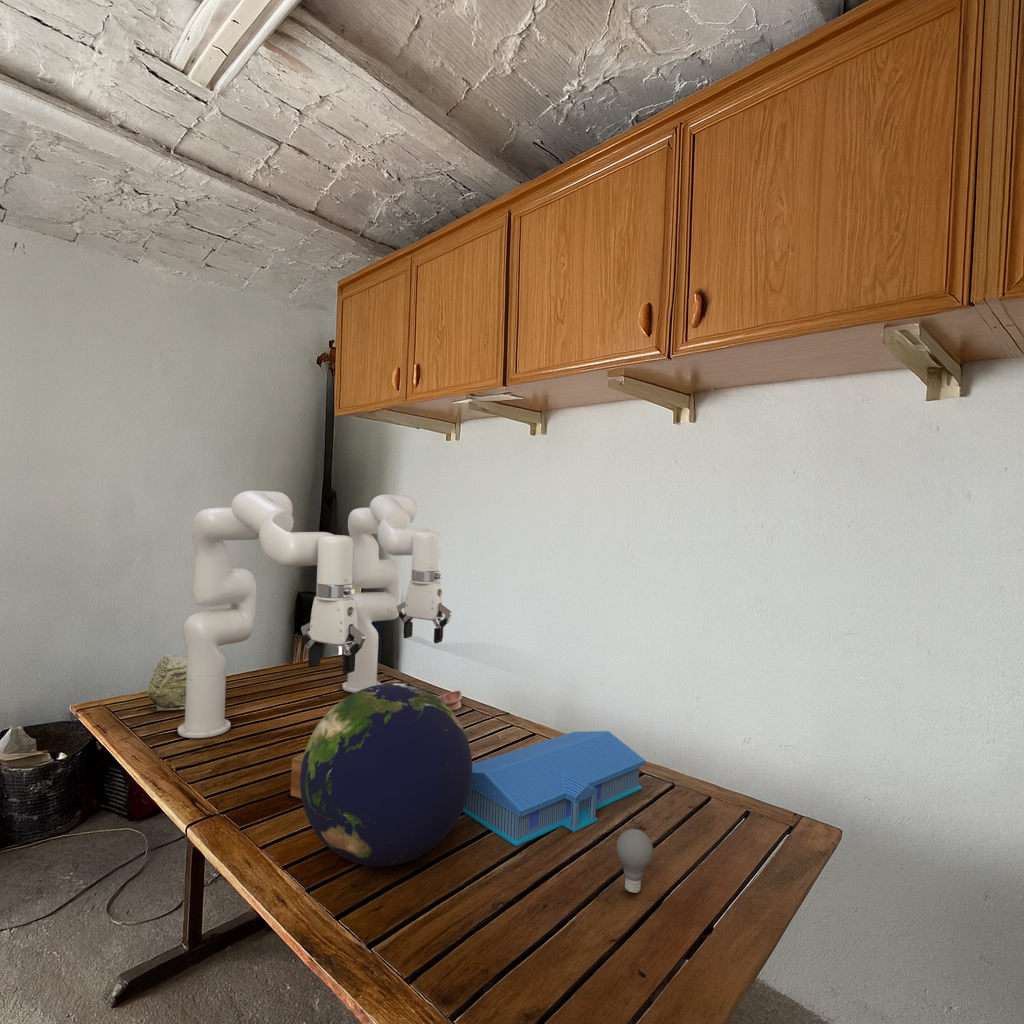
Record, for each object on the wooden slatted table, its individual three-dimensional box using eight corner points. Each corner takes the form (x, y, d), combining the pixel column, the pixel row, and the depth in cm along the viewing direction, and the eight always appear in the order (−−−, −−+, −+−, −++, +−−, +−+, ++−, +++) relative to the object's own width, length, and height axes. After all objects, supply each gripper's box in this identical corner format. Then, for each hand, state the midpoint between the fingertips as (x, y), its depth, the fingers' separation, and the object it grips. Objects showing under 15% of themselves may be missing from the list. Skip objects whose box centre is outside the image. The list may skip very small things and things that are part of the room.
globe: (257, 876, 105) (264, 696, 104) (364, 800, 133) (370, 657, 132) (413, 929, 94) (422, 728, 93) (494, 834, 121) (501, 678, 121)
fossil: (144, 707, 182) (145, 655, 182) (212, 696, 194) (213, 647, 194) (151, 716, 175) (153, 662, 175) (221, 703, 188) (223, 653, 188)
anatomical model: (412, 696, 190) (425, 685, 201) (412, 709, 190) (424, 698, 201) (455, 701, 187) (465, 690, 199) (454, 714, 188) (465, 702, 199)
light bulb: (610, 879, 108) (613, 822, 108) (644, 879, 109) (647, 822, 109) (619, 902, 102) (622, 840, 102) (655, 901, 103) (658, 840, 103)
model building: (528, 854, 115) (530, 799, 115) (447, 802, 133) (449, 755, 133) (654, 793, 142) (656, 749, 141) (573, 757, 160) (574, 718, 159)
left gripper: (376, 593, 138) (373, 671, 139) (316, 585, 146) (313, 659, 146) (354, 597, 132) (350, 679, 132) (291, 589, 139) (289, 666, 139)
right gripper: (460, 578, 171) (457, 641, 171) (406, 572, 178) (404, 633, 178) (445, 581, 164) (442, 647, 164) (390, 575, 171) (388, 638, 172)
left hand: (331, 669), depth 139 cm, fingers open, 9 cm apart
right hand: (422, 639), depth 171 cm, fingers open, 9 cm apart
